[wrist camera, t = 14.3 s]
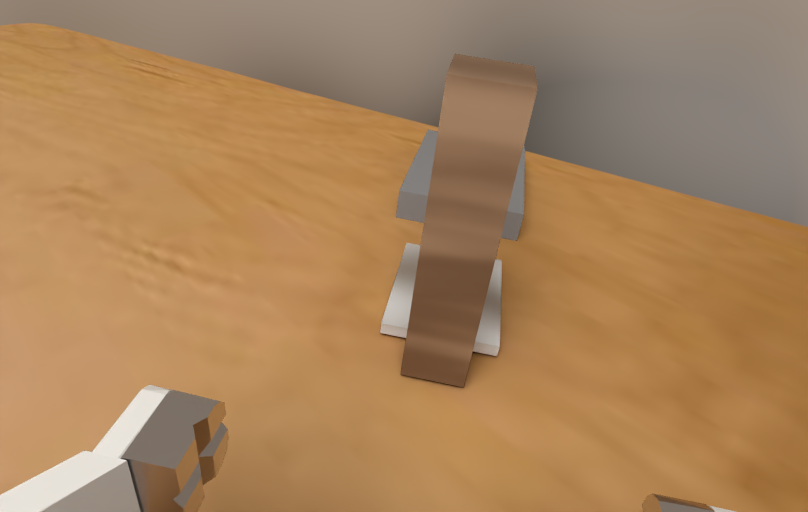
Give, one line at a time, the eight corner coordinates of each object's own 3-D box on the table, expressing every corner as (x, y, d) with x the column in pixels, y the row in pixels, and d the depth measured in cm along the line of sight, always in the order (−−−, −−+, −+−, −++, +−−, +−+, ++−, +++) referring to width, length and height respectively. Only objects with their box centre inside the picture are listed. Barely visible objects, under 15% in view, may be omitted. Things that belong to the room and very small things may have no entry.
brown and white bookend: (495, 393, 24) (583, 95, 17) (369, 367, 24) (402, 66, 17) (499, 269, 32) (559, 34, 25) (405, 251, 32) (438, 15, 25)
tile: (523, 214, 34) (524, 147, 44) (399, 190, 35) (428, 129, 45) (516, 243, 35) (518, 171, 45) (395, 219, 36) (424, 154, 46)
